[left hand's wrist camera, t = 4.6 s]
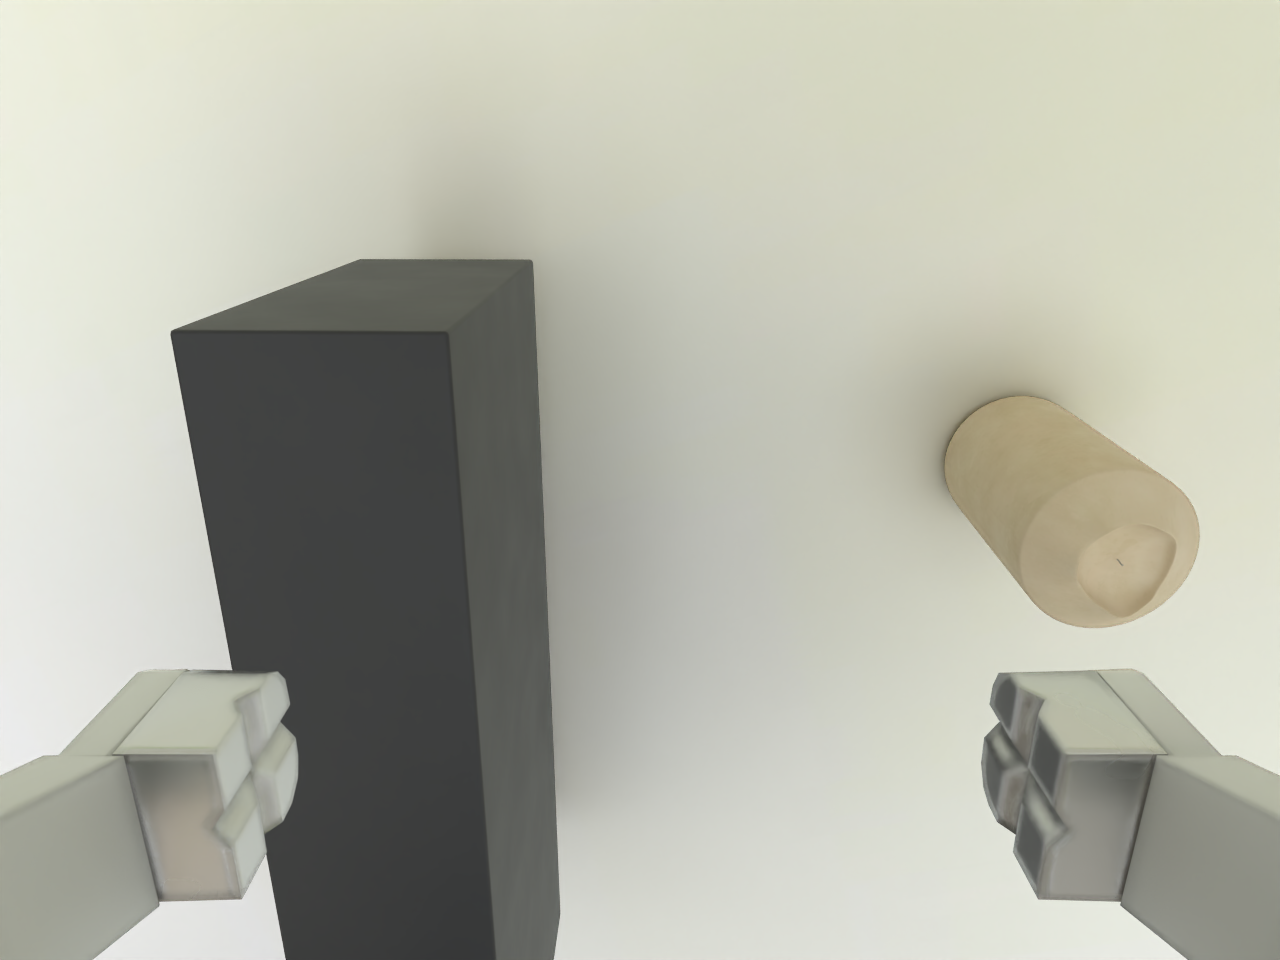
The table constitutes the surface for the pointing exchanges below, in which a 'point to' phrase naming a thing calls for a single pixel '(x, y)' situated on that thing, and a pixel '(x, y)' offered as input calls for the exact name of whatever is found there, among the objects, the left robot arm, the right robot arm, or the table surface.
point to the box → (391, 597)
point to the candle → (1071, 512)
